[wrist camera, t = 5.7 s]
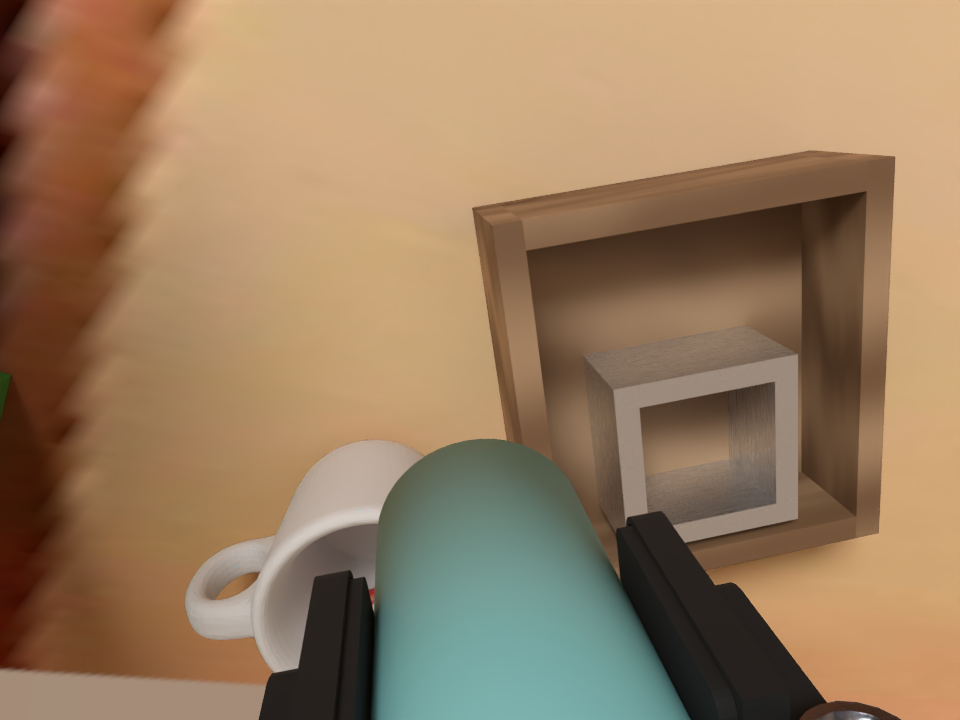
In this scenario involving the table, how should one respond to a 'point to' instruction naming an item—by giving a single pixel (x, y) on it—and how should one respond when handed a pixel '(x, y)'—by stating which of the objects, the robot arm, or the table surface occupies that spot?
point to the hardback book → (3, 389)
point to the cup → (301, 552)
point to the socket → (751, 429)
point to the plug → (503, 599)
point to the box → (704, 321)
